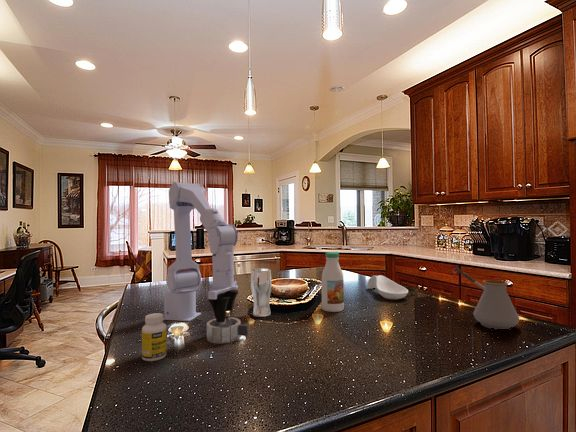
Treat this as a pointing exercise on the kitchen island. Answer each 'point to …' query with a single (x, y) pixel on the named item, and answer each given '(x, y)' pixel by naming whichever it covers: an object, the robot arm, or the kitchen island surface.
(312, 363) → the kitchen island surface
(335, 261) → the milk bottle
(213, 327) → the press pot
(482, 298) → the coffee pot
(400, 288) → the spoon rest
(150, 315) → the supplement bottle
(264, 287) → the beer glass
